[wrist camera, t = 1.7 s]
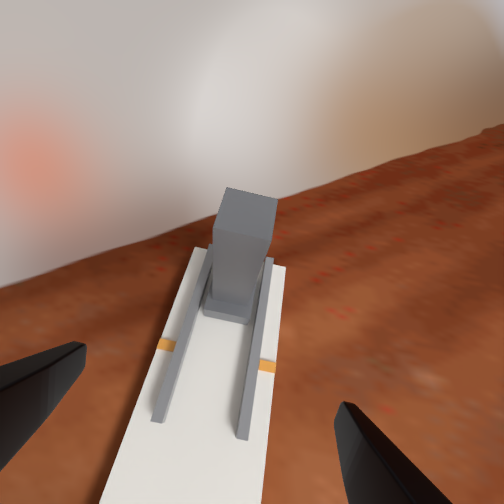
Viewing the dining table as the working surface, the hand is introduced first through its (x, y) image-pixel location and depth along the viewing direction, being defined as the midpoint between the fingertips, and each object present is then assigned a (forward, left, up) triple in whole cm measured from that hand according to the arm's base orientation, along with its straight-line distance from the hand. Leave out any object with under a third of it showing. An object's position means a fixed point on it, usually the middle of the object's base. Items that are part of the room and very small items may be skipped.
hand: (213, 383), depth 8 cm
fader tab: (+2, +8, -12) cm, 15 cm away
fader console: (0, +2, -14) cm, 14 cm away
